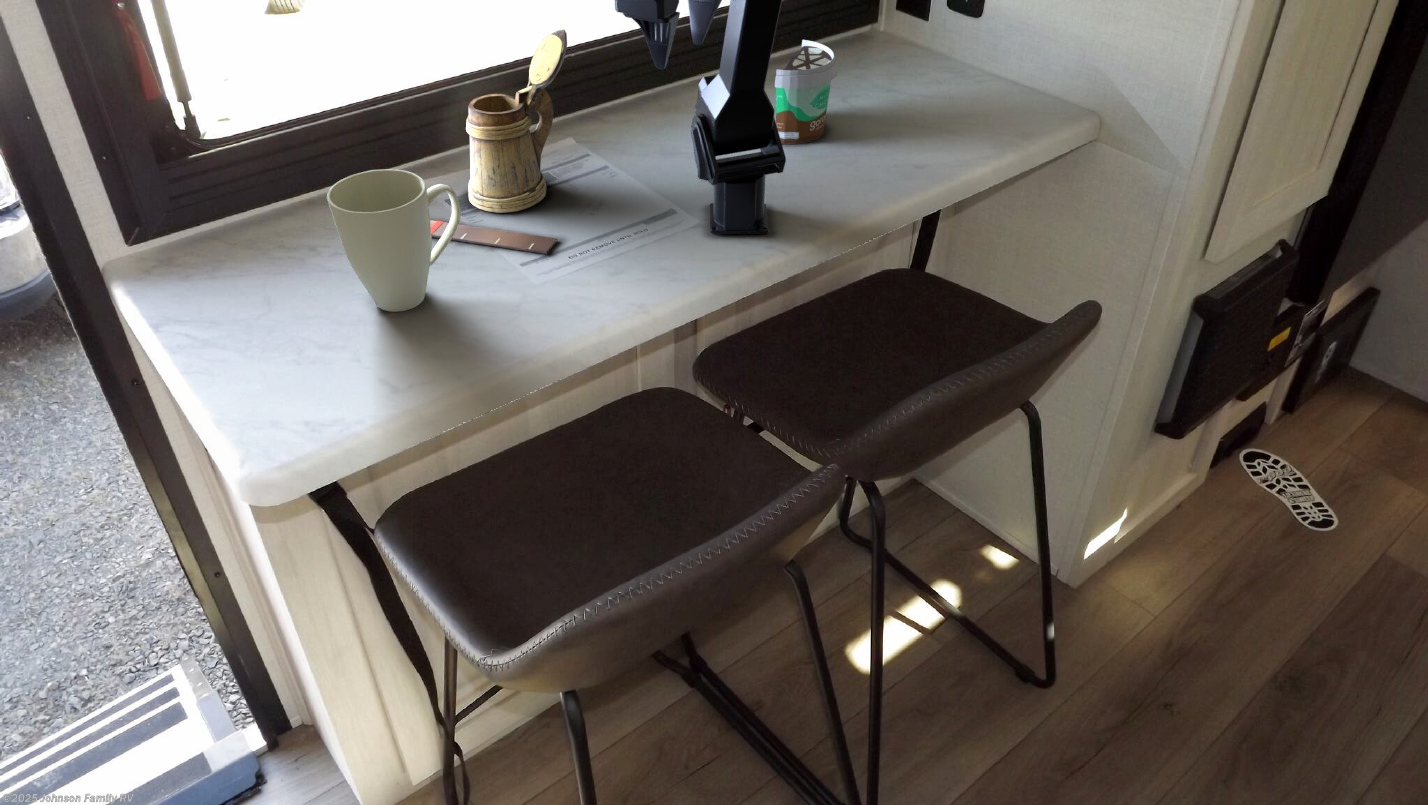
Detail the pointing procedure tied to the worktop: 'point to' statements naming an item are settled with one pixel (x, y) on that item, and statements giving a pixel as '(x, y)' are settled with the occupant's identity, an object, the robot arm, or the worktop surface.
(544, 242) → the ruler
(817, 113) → the food container
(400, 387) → the worktop surface
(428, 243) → the mug
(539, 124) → the wooden mug
